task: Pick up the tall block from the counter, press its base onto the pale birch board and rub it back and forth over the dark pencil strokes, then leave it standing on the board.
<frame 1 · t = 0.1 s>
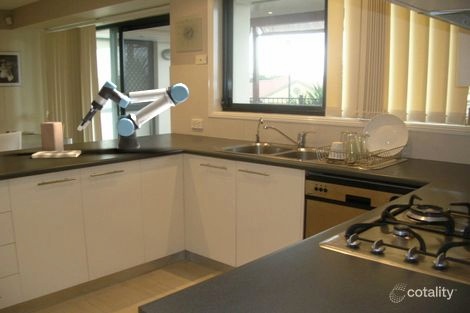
hand: (80, 129, 298), 15 cm above the countertop, tool tilted 35°, fingers open, 13 cm apart
board: (57, 155, 287), on the countertop
block: (53, 152, 301), on the countertop
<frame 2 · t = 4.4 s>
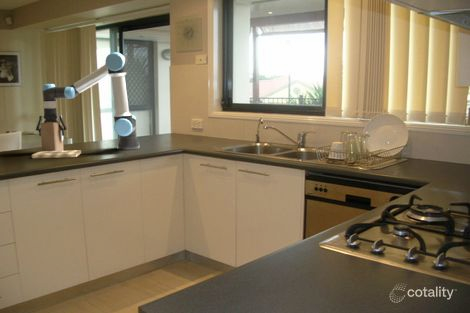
hand: (52, 140, 299), 8 cm above the countertop, tool pointing down, fingers closed on block, 12 cm apart
block: (53, 152, 301), on the countertop, touching gripper
when the fingers open (10 cm above the countertop, at t = 10.8 s): block moves 5 cm, point 2 cm above the countertop.
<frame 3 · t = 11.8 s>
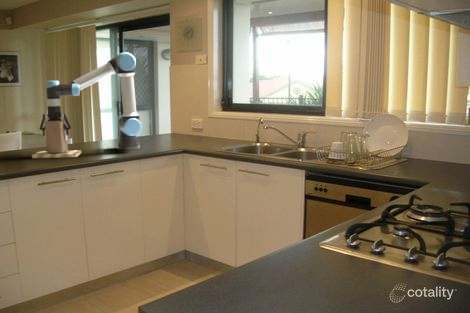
hand: (56, 140, 285), 10 cm above the countertop, tool pointing down
block: (57, 152, 286), point 2 cm above the countertop, touching gripper
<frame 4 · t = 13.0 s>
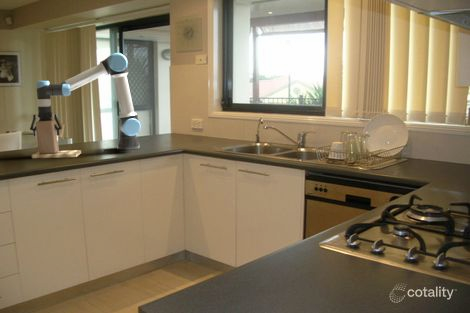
hand: (47, 141, 285), 9 cm above the countertop, tool pointing down, fingers open, 11 cm apart
block: (49, 152, 285), point 2 cm above the countertop, touching board, gripper
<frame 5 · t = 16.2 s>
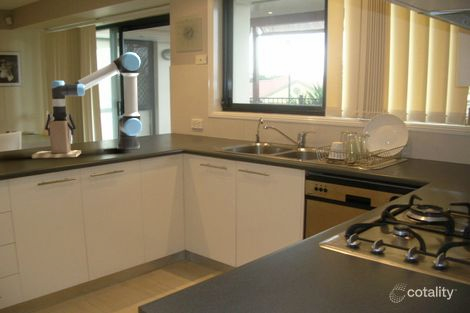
hand: (61, 140, 286), 9 cm above the countertop, tool pointing down, fingers open, 11 cm apart
block: (61, 152, 286), point 2 cm above the countertop, touching board, gripper
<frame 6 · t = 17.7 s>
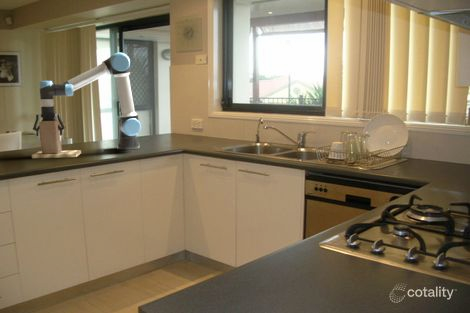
hand: (50, 141, 285), 9 cm above the countertop, tool pointing down, fingers open, 11 cm apart
block: (52, 152, 285), point 2 cm above the countertop, touching board, gripper
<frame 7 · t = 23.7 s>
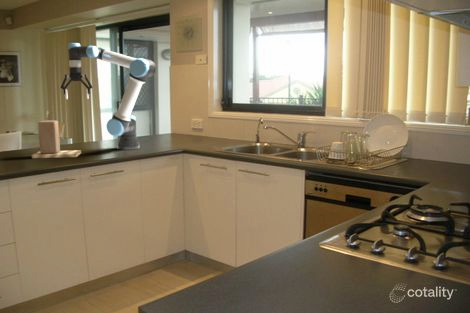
hand: (77, 99, 305), 35 cm above the countertop, tool pointing down, fingers open, 13 cm apart
block: (50, 153, 285), point 2 cm above the countertop, touching board
at the end: block inside the target area on the board (4.0 cm from its centre), point 1.9 cm above the board's base; block tilted 0°; the gripper is holding nothing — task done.
